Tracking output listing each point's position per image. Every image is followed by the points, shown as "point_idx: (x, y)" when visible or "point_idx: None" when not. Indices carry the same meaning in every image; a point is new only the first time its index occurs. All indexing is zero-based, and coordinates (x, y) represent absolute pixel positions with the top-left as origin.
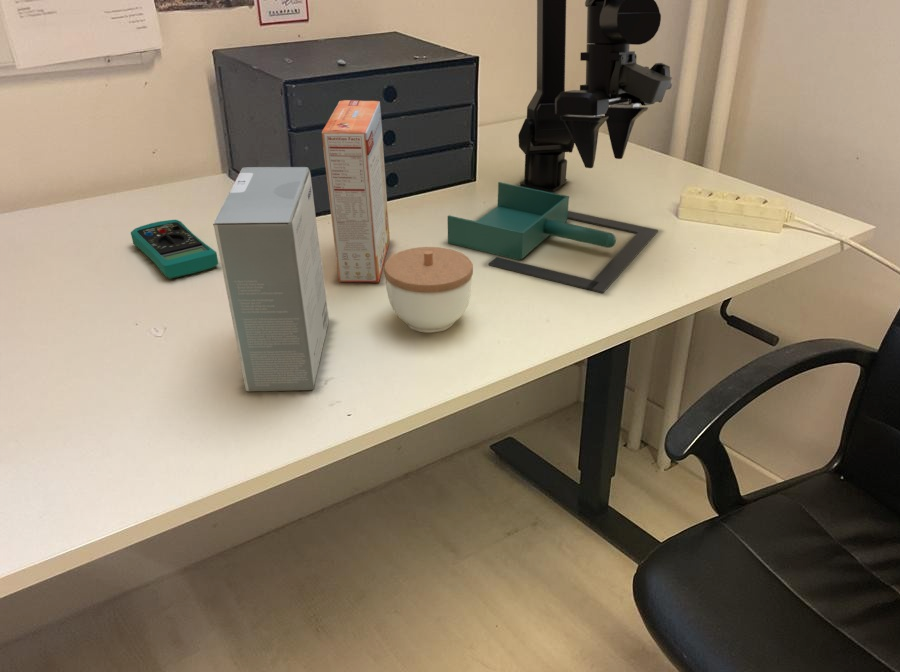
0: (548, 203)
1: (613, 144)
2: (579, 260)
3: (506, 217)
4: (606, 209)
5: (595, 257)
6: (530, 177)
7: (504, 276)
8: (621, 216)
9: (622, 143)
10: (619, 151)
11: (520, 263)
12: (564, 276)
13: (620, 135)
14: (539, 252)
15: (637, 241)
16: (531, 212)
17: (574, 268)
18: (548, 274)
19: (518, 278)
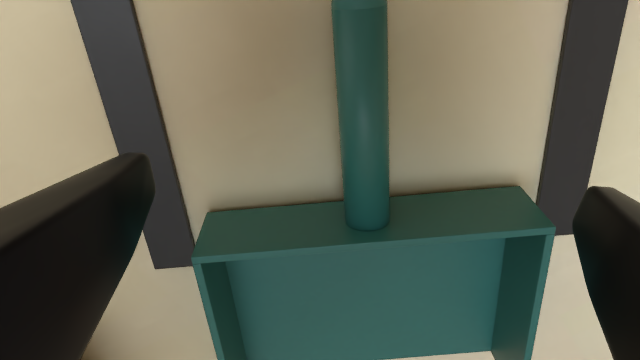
0: (218, 287)
1: (118, 265)
2: (440, 54)
3: (298, 327)
4: (31, 163)
5: (394, 21)
6: None
7: (622, 172)
8: (39, 99)
9: (88, 215)
10: (131, 193)
11: (548, 175)
12: (587, 34)
13: (50, 281)
14: (443, 172)
15: None
16: (233, 301)
17: (501, 40)
18: (589, 81)
19: (623, 139)
